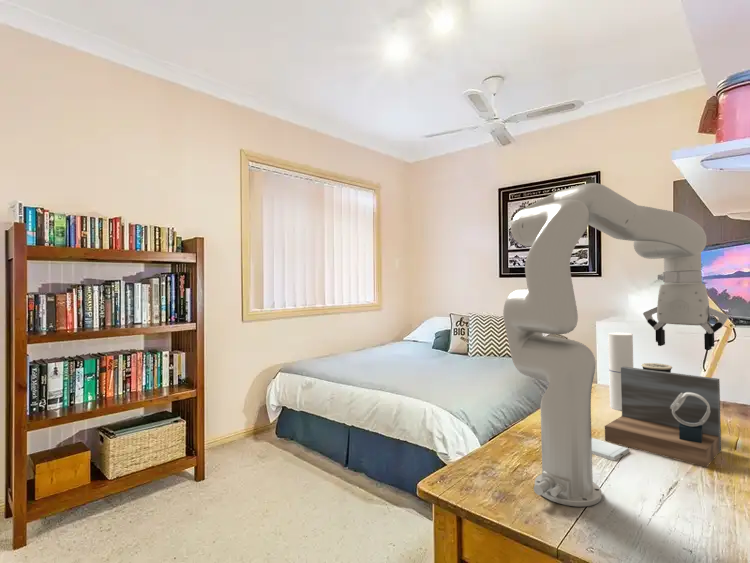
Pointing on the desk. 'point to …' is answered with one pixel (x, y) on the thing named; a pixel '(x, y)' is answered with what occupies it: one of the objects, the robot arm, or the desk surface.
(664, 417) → the display stand
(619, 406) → the cylindrical container
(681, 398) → the watch
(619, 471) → the desk surface
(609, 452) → the hard drive
